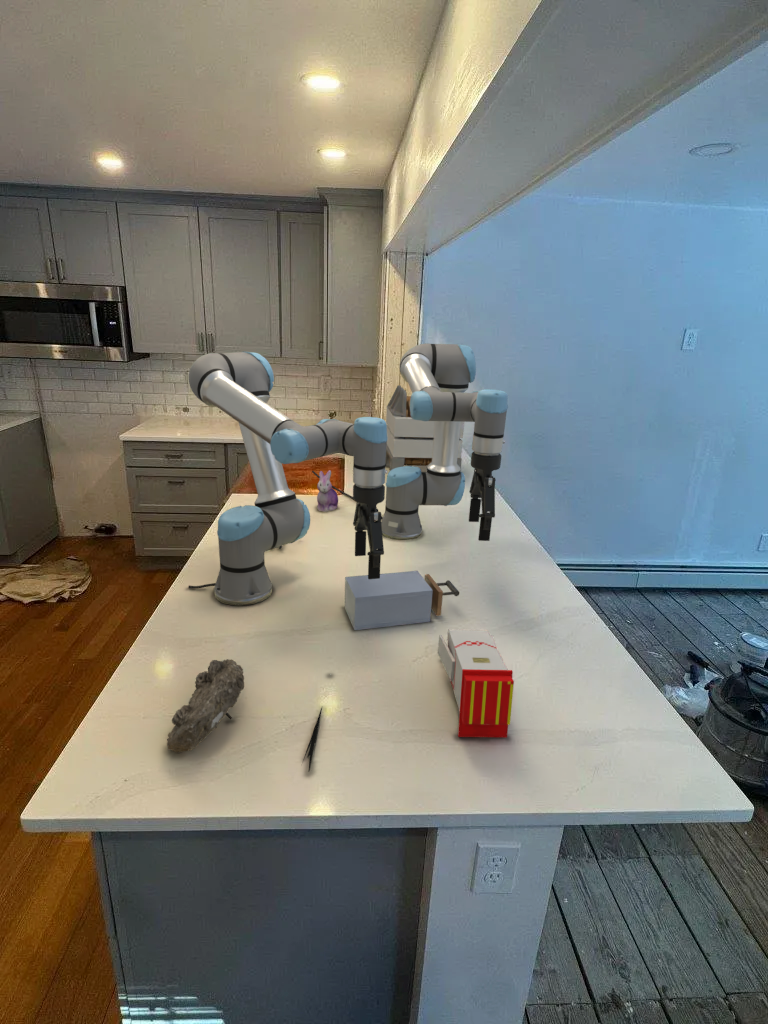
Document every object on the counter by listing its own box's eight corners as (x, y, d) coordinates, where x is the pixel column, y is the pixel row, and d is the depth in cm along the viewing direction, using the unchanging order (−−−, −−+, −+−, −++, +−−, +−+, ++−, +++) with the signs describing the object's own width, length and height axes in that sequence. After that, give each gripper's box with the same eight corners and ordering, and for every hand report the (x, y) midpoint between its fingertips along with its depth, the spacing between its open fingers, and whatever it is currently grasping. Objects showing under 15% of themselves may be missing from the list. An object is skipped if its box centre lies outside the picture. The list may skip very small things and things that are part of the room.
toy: (488, 613, 130) (523, 677, 101) (484, 667, 133) (517, 744, 104) (435, 612, 130) (455, 676, 101) (432, 666, 133) (451, 743, 103)
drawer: (446, 595, 156) (448, 572, 154) (460, 613, 147) (463, 589, 145) (361, 603, 150) (362, 579, 147) (371, 623, 141) (372, 598, 138)
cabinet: (415, 600, 155) (417, 570, 152) (430, 621, 145) (432, 590, 142) (344, 607, 149) (345, 576, 146) (354, 630, 139) (355, 597, 136)
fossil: (192, 660, 117) (244, 628, 112) (224, 691, 120) (276, 661, 115) (142, 746, 98) (202, 712, 93) (182, 779, 101) (242, 748, 96)
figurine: (320, 513, 215) (320, 475, 210) (311, 505, 224) (311, 468, 219) (343, 510, 219) (344, 473, 214) (333, 502, 228) (333, 466, 223)
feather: (331, 679, 122) (336, 673, 122) (307, 777, 96) (313, 769, 95) (324, 675, 122) (329, 669, 121) (298, 772, 95) (304, 764, 95)
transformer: (382, 463, 289) (386, 382, 275) (445, 464, 293) (451, 384, 279) (390, 482, 257) (394, 392, 243) (460, 483, 261) (468, 394, 247)
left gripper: (400, 499, 123) (396, 587, 130) (371, 469, 146) (368, 545, 153) (366, 501, 121) (364, 590, 128) (342, 470, 144) (341, 547, 151)
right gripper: (514, 465, 132) (503, 549, 139) (490, 442, 155) (482, 514, 162) (482, 464, 132) (473, 548, 139) (463, 441, 155) (456, 514, 162)
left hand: (366, 566), depth 140 cm, fingers open, 13 cm apart
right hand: (478, 530), depth 151 cm, fingers open, 13 cm apart
